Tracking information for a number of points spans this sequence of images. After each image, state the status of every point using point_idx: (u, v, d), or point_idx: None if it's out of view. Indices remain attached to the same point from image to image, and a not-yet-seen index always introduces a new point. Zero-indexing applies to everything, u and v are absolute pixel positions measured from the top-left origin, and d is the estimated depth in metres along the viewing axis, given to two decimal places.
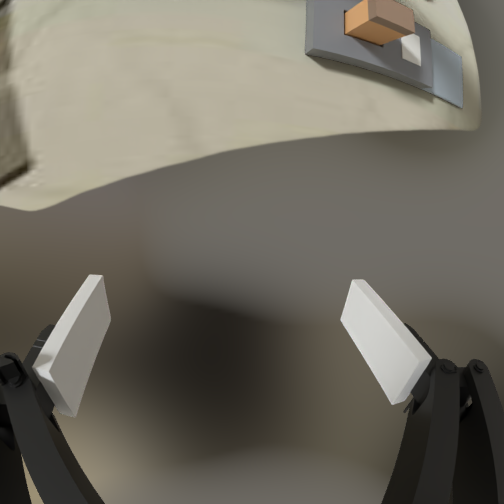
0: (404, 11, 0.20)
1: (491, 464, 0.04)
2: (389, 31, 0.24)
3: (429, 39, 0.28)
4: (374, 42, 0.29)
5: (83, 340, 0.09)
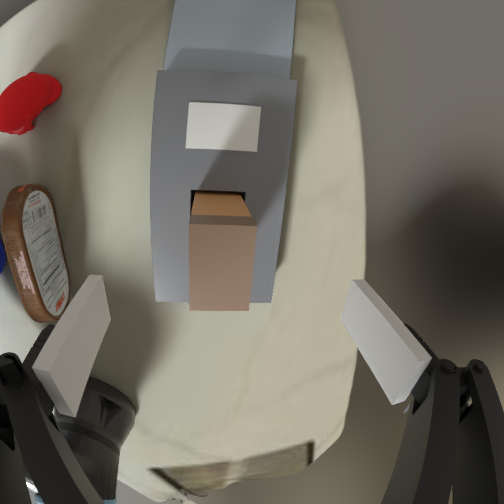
0: (206, 249, 0.17)
1: (492, 464, 0.04)
2: None
3: (184, 73, 0.19)
4: None
5: (83, 340, 0.09)
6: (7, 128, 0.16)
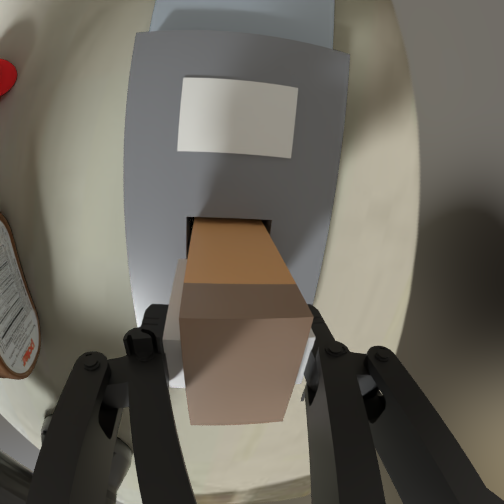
0: (216, 356, 0.08)
1: (433, 464, 0.05)
2: None
3: (176, 35, 0.11)
4: None
5: None
6: None
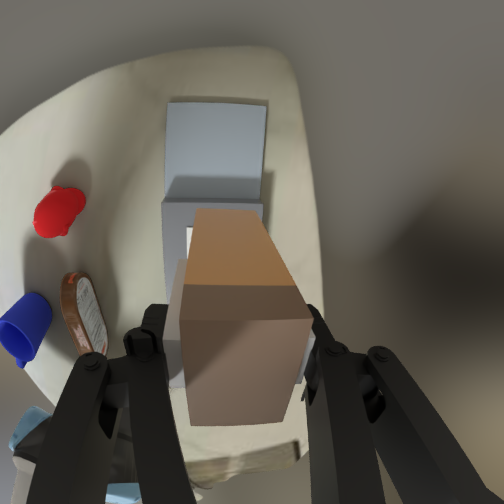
0: (216, 358, 0.08)
1: (434, 464, 0.05)
2: None
3: (180, 205, 0.31)
4: None
5: None
6: (50, 236, 0.28)
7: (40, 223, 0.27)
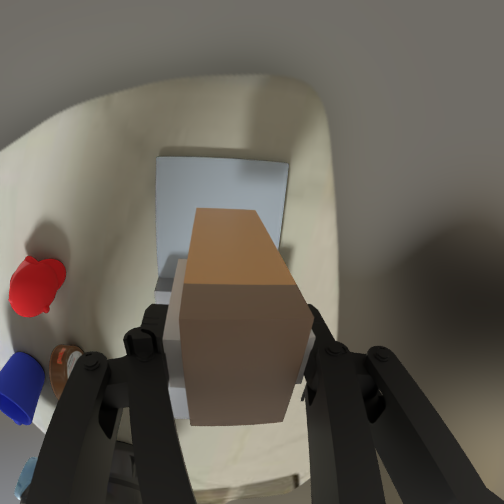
0: (216, 357, 0.08)
1: (433, 464, 0.05)
2: None
3: None
4: None
5: None
6: (30, 316, 0.22)
7: (16, 304, 0.21)
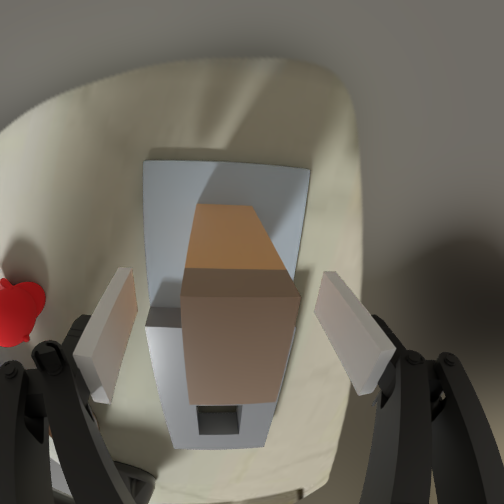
0: (213, 333, 0.09)
1: (474, 462, 0.04)
2: None
3: (174, 331, 0.20)
4: None
5: (117, 329, 0.11)
6: (8, 346, 0.18)
7: None
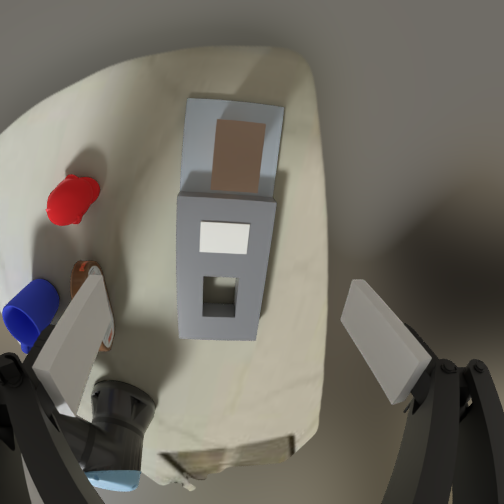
0: (228, 138, 0.21)
1: (492, 464, 0.04)
2: None
3: (196, 200, 0.32)
4: None
5: (83, 340, 0.09)
6: (63, 224, 0.30)
7: (54, 211, 0.28)
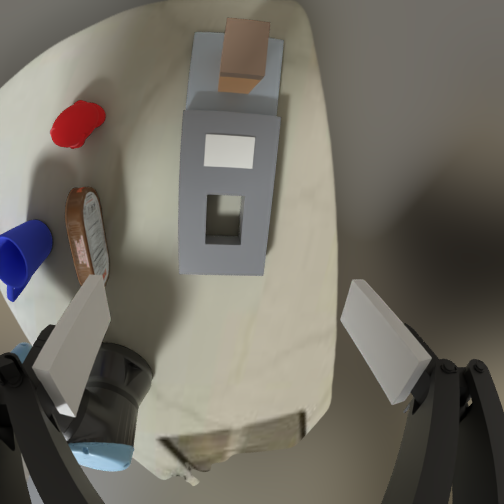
0: (237, 31, 0.19)
1: (491, 464, 0.04)
2: None
3: (202, 113, 0.30)
4: None
5: (83, 340, 0.09)
6: (65, 144, 0.27)
7: (58, 129, 0.25)
